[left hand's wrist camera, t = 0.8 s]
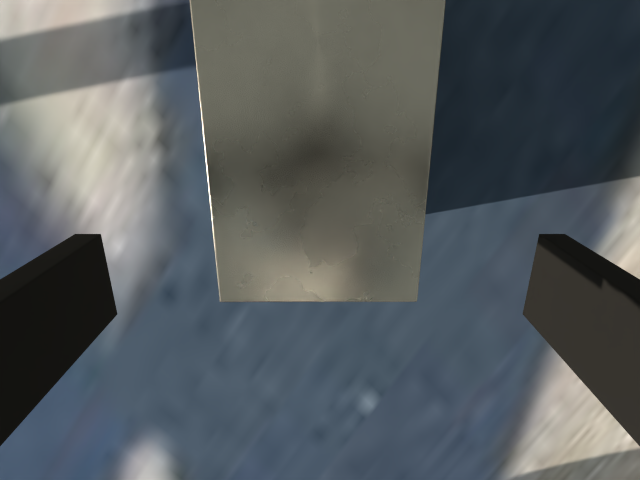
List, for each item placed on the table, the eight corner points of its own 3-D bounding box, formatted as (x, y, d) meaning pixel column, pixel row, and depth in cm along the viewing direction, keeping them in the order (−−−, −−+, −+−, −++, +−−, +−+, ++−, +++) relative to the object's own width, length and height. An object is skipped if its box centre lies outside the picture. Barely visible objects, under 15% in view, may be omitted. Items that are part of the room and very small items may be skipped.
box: (380, 222, 28) (417, 302, 18) (256, 223, 28) (219, 302, 18) (401, -158, 21) (484, -402, 11) (233, -158, 21) (148, -402, 11)
